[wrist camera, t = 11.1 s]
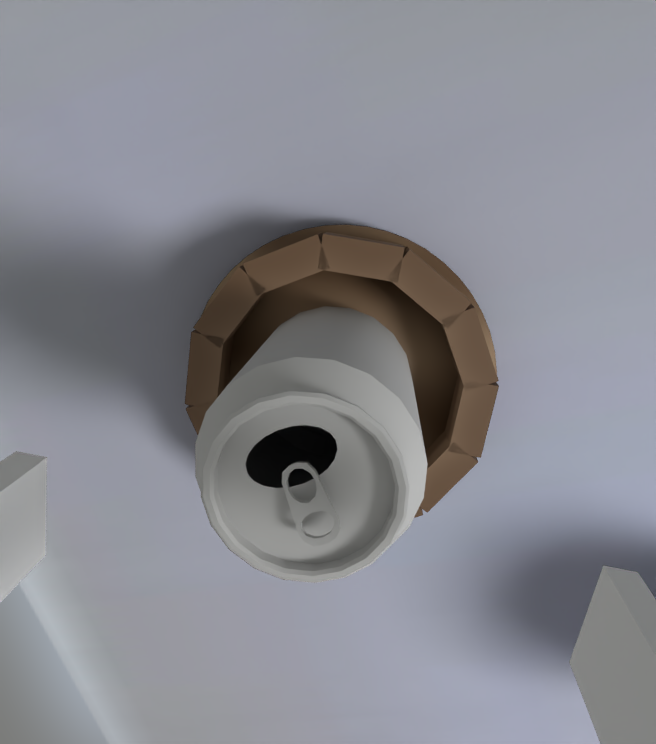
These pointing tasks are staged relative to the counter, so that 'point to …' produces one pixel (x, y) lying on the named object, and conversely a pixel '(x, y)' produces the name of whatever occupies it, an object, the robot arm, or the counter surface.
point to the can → (315, 449)
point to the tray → (374, 298)
